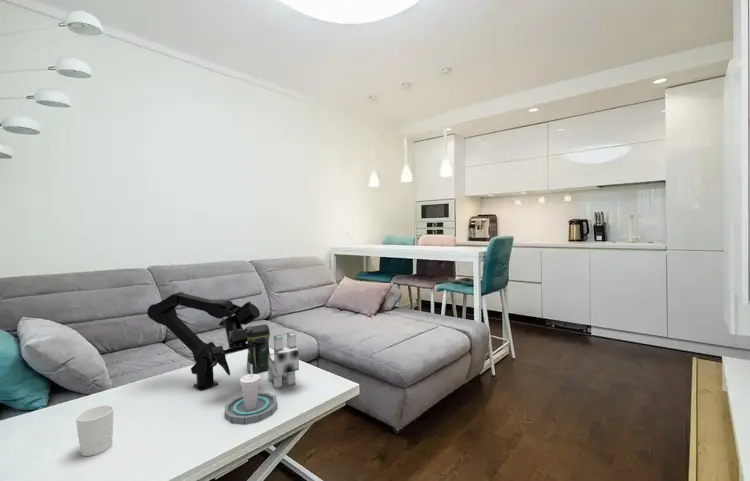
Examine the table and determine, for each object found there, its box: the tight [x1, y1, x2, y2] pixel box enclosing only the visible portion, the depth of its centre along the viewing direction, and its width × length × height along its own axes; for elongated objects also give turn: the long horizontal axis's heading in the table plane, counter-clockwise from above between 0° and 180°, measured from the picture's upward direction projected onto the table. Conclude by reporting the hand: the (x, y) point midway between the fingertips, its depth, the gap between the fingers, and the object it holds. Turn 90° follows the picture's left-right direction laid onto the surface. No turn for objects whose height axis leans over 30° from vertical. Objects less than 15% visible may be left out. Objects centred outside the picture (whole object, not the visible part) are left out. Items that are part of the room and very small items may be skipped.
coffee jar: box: [246, 323, 271, 374], centre depth 146 cm, size 10×8×19 cm
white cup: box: [75, 405, 114, 457], centre depth 95 cm, size 8×8×10 cm
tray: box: [223, 391, 278, 425], centre depth 114 cm, size 16×16×2 cm
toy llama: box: [267, 332, 300, 391], centre depth 132 cm, size 8×18×20 cm, turn 31°
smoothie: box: [239, 365, 261, 410], centre depth 114 cm, size 6×6×14 cm
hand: (243, 371), depth 120 cm, fingers open, 9 cm apart
